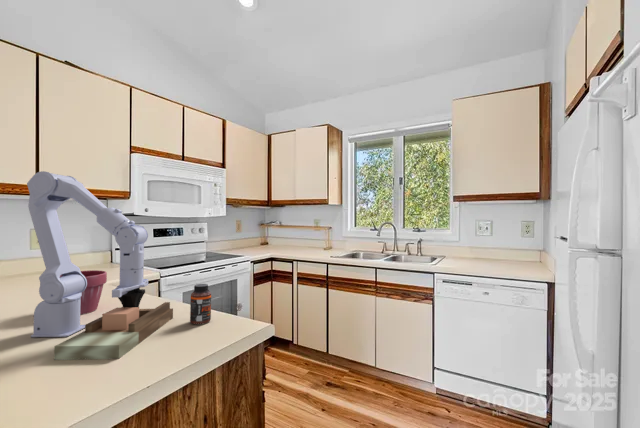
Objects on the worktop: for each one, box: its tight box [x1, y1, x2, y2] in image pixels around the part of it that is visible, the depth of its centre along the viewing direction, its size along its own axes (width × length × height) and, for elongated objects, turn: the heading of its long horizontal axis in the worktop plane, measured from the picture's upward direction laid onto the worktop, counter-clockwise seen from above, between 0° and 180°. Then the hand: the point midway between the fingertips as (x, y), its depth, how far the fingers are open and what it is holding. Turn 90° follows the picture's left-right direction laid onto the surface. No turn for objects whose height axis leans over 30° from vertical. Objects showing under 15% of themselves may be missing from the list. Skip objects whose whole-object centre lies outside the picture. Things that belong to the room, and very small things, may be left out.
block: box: [101, 306, 140, 330], centre depth 80 cm, size 6×6×4 cm
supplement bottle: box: [189, 283, 212, 325], centre depth 93 cm, size 6×6×11 cm
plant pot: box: [60, 269, 108, 316], centre depth 102 cm, size 14×14×13 cm
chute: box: [53, 301, 174, 361], centre depth 82 cm, size 14×28×5 cm, turn 3°
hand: (131, 316), depth 85 cm, fingers closed
